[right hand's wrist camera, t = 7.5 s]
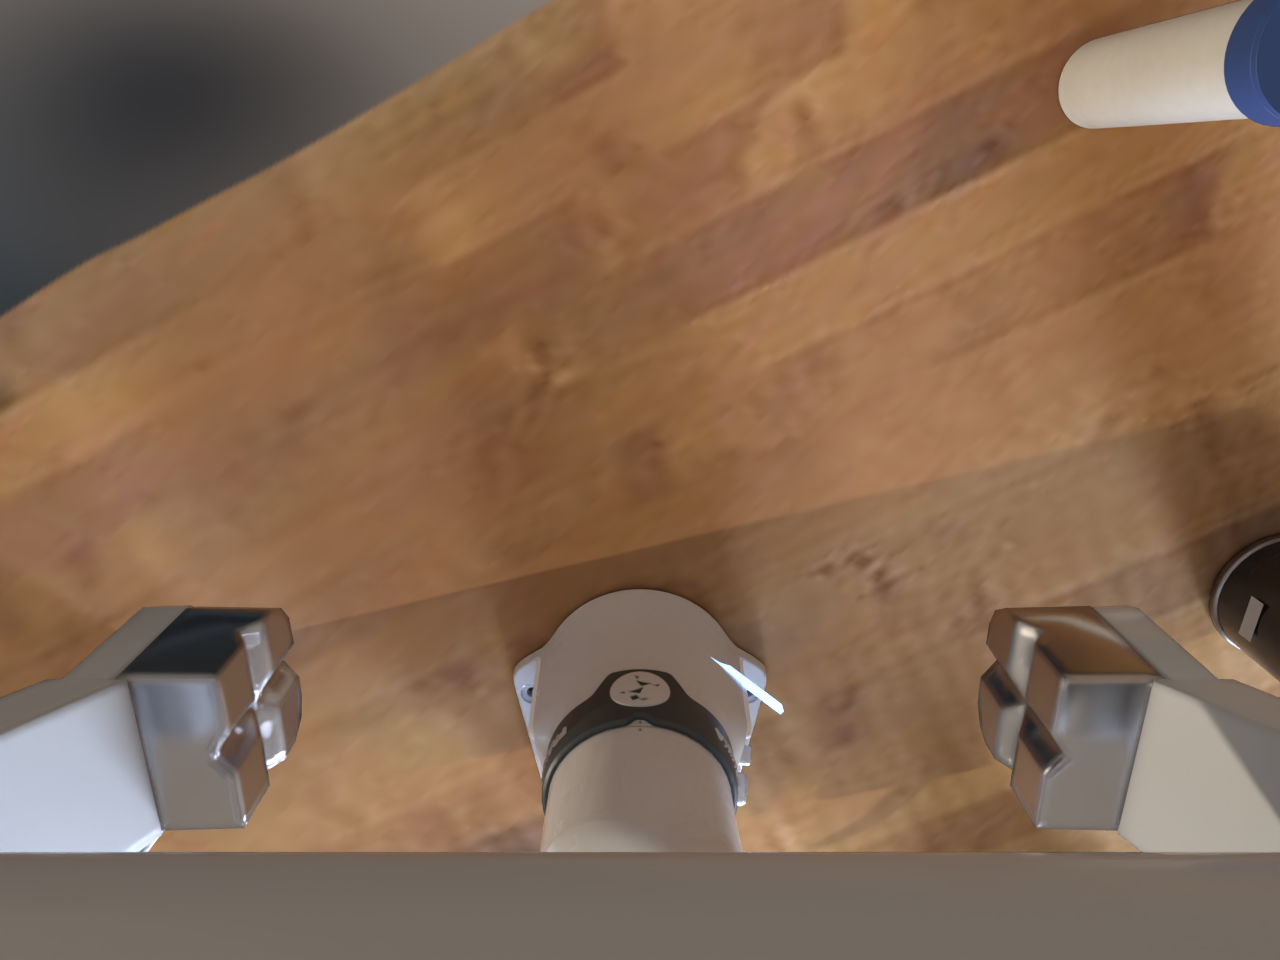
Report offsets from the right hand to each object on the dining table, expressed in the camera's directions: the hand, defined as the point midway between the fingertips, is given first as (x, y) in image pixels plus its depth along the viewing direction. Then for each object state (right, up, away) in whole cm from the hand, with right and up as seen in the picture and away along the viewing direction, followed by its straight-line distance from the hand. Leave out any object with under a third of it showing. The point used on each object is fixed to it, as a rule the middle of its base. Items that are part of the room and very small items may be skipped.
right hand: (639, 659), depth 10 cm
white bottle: (+27, +26, +42) cm, 56 cm away
